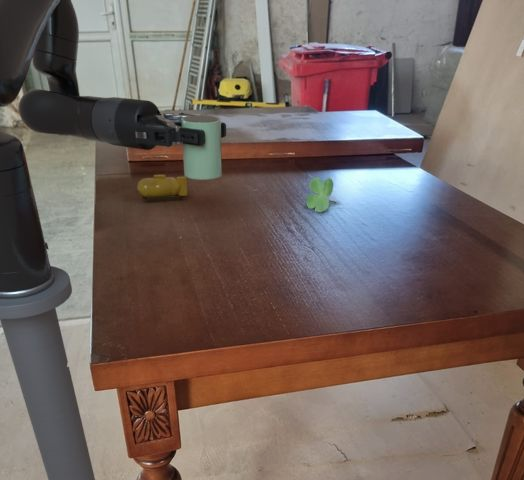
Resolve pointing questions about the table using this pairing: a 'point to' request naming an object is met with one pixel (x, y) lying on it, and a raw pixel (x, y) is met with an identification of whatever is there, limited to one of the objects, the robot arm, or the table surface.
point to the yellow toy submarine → (162, 188)
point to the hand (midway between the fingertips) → (214, 134)
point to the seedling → (319, 194)
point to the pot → (203, 149)
